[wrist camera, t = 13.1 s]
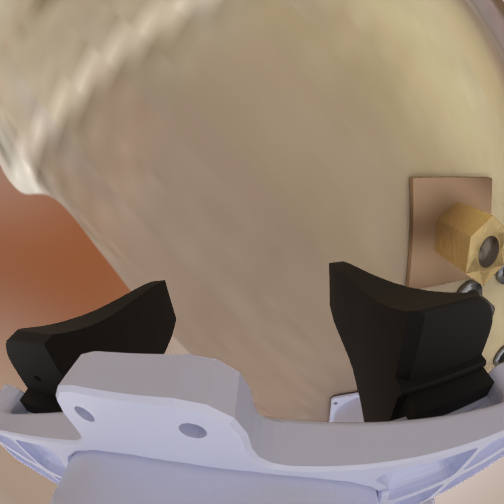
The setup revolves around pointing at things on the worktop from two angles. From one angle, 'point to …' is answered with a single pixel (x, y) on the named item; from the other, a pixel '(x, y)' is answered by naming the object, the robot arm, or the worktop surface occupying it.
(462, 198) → the board
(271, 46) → the worktop surface
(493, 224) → the brass nut
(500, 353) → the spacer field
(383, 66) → the worktop surface
